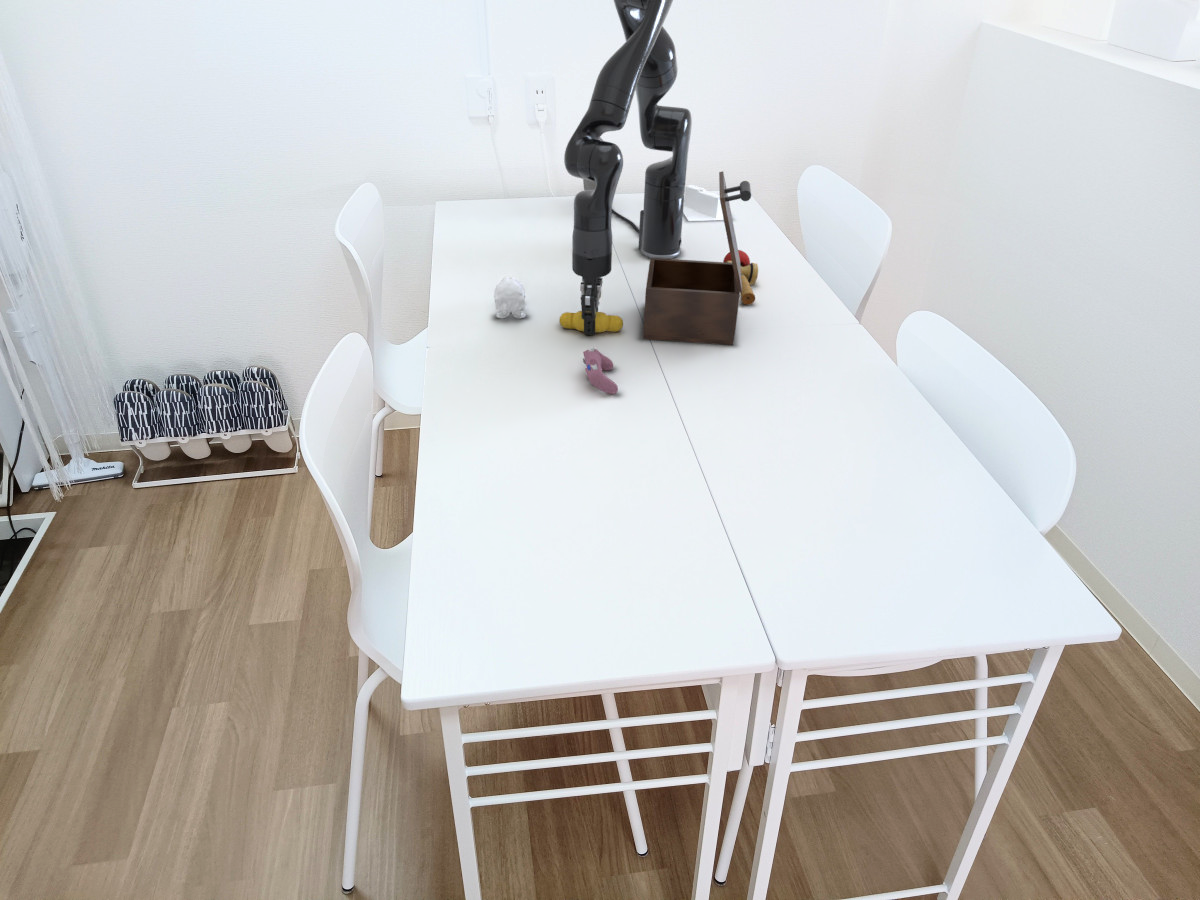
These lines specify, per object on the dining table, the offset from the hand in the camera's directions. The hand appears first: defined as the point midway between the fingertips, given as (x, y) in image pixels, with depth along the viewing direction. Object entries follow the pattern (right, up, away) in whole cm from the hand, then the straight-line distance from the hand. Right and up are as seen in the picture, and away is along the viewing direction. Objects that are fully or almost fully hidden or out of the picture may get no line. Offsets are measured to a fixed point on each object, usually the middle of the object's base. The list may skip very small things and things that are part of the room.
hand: (590, 328), depth 174 cm
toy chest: (+20, +1, +3) cm, 20 cm away
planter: (+1, +39, +56) cm, 68 cm away
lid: (+26, +17, -9) cm, 33 cm away
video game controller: (+2, -12, -16) cm, 20 cm away
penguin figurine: (-17, +4, +7) cm, 18 cm away
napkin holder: (+29, +39, +57) cm, 75 cm away
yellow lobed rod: (0, 0, 0) cm, 0 cm away
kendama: (+33, +11, +18) cm, 40 cm away
